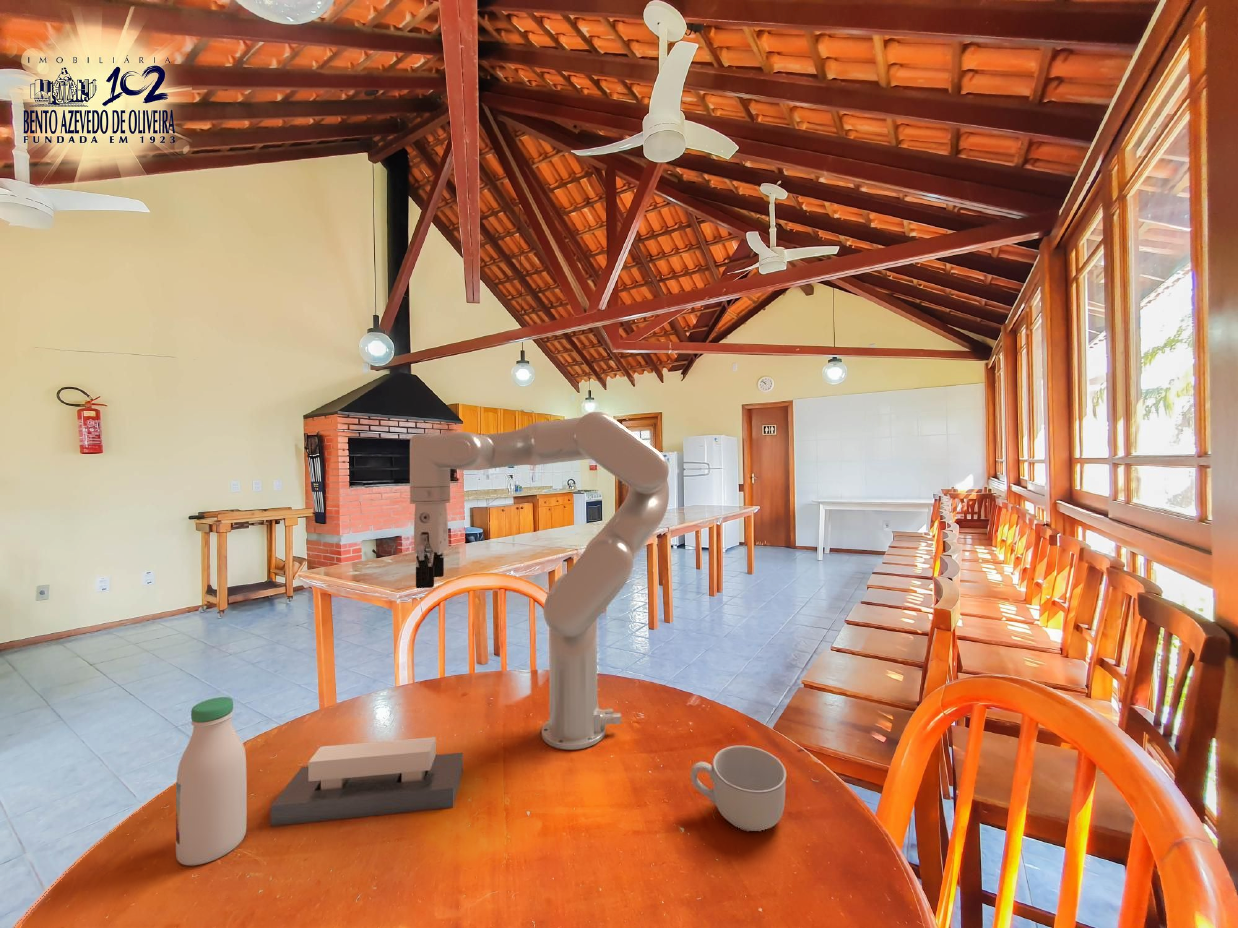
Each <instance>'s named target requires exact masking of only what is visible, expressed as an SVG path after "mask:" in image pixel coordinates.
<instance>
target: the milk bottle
mask: <svg viewBox="0 0 1238 928" xmlns="http://www.w3.org/2000/svg"><path fill="white" fill-rule="evenodd" d="M190 711H191V712H190V713H191V714H190V718H191V722H190V724H191V725H192V726H193V727H192V728H193V729H192V730H193V731H192V734H191V737H190V739H189V741H188V744H187V746H186V748H185V750H184V752H183V754H182V756H181V758H180V761H179V764H178V767H177V768H178V769H177V773H176V788H175V789H176V790H175V793H176V795H175V858H176V860H177V861H178V863H180V864H181V865H184V866H189V867H190V866H198V865H203V864H207V863H209V862H212V861H215V860H218V859H220V858H222V857H223V856H226V855H228V854H229V853H230V852H232V851H233V850H234V849H236V848H237V847H238V846H239V845H240V844H241V843H242V841H243V840H244V837H245V836H246V834H247V823H248V822H247V820H248V819H247V817H248V816H247V810H248V809H247V806H248V805H247V803H248V802H247V796H248V795H247V793H248V792H247V783H248V782H247V756H246V749H245V746H244V743H243V741H242V739H241V737H240V736H239V734H238V733H237V732H236V730H235V727H234V725H233V723H232V716H233V715H234V701H233V698H231V697H229V696H221V697H213V698H210V699H206V700H203V701H201V702H199V703H197V704H195V705H194V706H193V707H192V708H191V710H190Z"/></svg>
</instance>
